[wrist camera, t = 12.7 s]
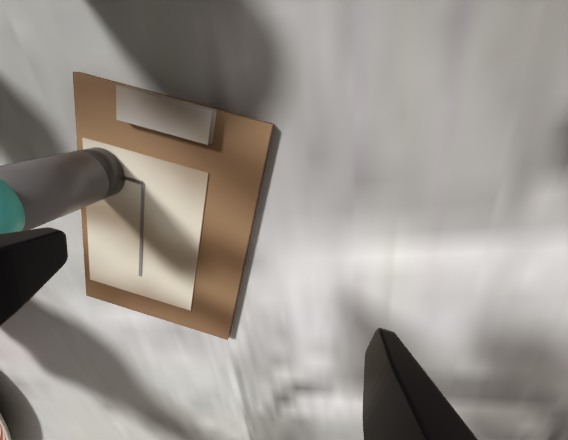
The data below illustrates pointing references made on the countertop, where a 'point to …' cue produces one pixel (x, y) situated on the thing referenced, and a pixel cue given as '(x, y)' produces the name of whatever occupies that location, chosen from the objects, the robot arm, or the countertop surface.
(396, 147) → the countertop surface
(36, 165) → the marker
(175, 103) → the clipboard
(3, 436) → the dinner plate
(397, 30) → the countertop surface
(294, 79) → the countertop surface
